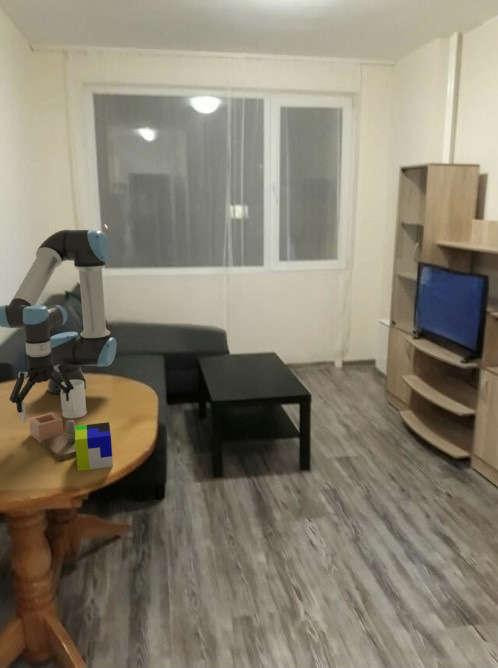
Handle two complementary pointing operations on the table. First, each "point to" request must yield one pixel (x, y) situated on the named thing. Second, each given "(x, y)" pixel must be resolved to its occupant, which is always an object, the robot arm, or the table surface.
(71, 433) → the square plate with peg
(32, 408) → the table surface
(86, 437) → the puzzle toy
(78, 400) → the mug
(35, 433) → the collar
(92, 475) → the table surface
